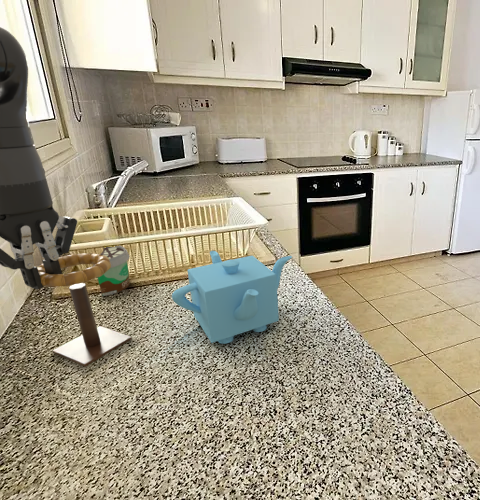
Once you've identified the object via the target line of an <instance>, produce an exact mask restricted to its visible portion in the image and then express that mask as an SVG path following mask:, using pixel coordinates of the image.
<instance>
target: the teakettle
mask: <svg viewBox="0 0 480 500" xmlns="http://www.w3.org/2000/svg"><path fill="white" fill-rule="evenodd" d="M209 255H210V259H211V262H212V263H210V264H206V265H202V266H196V267H192V268H188V269H187V276H188V277H187V278H188V284H186V285H183V286H181V287H179V288H177V289H175V290H174V291H173V292H172V294H171V300H172V301H173V302H174V304H176V305H177V306H179V307H181V308H183V309H185V310H188V311H190V312H193V316H194V318H195V320H197V322H198V324H199V326H200V327H201V329H202V331H203V332H204V333H205V335H206V337H207V338H208V340H209V341H210V343H211V344H213V343H216V342H218V343H219V344H223V345H226V344H230V343H232V342H233V341H234V337H235V336H237V335H240V334H244V333H246V332H249V331H253V332H255V333H261V332H265V331H266V330H267V329H268V325H271V324H273V323H276V322H279V320H280V318H279V316H280V315H279V300H278V299H279V298H278V296H279V295H278V290H279V286H280V282H281V278H282V277H281V276H282V272H283V269H284V266H285V264H286V263H287V262H289V261H290V260H291V259H292V258H293V256H292V255H286V256H282V257H280V258H278V259H277V261H275V263H274V265H273V267H272V269H270V268H269V267H268V266H267V265H265V264H264V263H263V262H261V261H260V260H259V259H258V258H257V257H255V256H254V255H247V256H243V257H238V258H234V259H226V260H224V261H223V260H222V258H221V255H220V254H219V253H218V251H216V250H210V251H209ZM188 293H190V297H191V301H190V300H189V298H187V297H186V295H187V294H188Z"/></svg>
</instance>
